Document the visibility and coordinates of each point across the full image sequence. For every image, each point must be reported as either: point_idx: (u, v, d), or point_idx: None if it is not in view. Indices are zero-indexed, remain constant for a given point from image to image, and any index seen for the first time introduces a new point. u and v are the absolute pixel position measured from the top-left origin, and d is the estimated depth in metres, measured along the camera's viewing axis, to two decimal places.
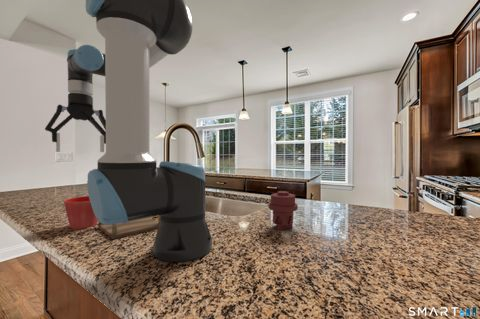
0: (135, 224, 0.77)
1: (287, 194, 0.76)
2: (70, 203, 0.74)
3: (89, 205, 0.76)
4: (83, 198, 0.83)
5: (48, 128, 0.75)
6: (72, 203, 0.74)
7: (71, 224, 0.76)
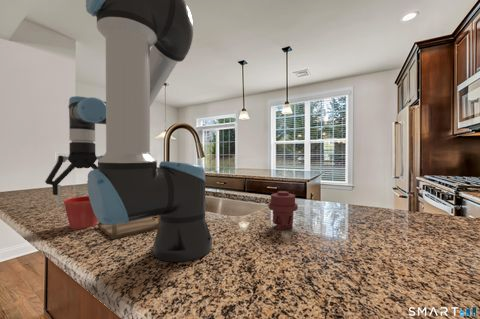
0: (135, 224, 0.77)
1: (287, 194, 0.76)
2: (70, 203, 0.74)
3: (89, 205, 0.76)
4: (83, 198, 0.83)
5: (48, 182, 0.72)
6: (72, 203, 0.74)
7: (71, 224, 0.76)
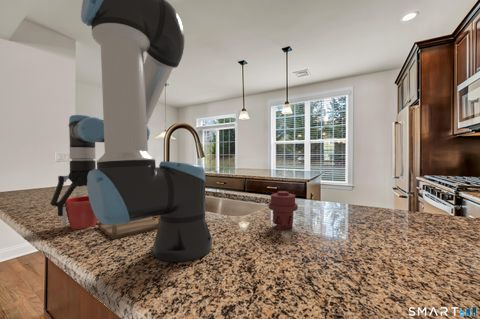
0: (135, 224, 0.77)
1: (287, 194, 0.76)
2: (70, 203, 0.74)
3: (89, 205, 0.76)
4: (83, 198, 0.83)
5: (54, 203, 0.73)
6: (72, 203, 0.74)
7: (71, 224, 0.76)
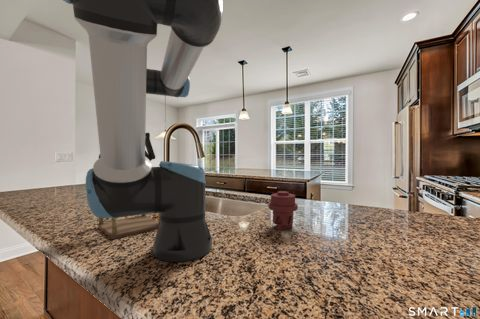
0: (135, 224, 0.77)
1: (287, 194, 0.76)
2: None
3: None
4: None
5: None
6: None
7: None
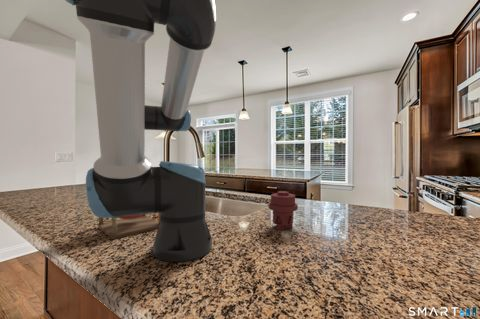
0: (135, 224, 0.77)
1: (287, 194, 0.76)
2: None
3: None
4: None
5: None
6: None
7: None
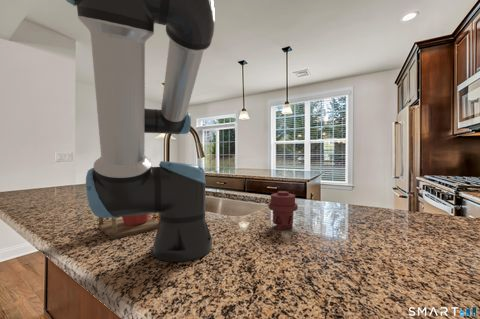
0: None
1: (287, 194, 0.76)
2: None
3: None
4: None
5: None
6: None
7: (126, 221, 0.75)
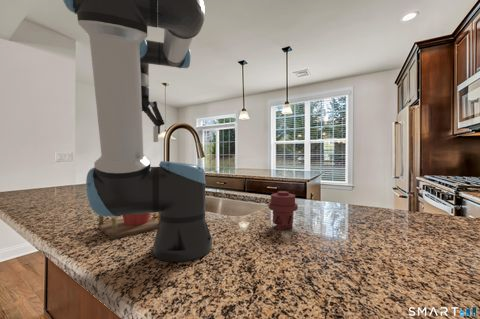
0: None
1: (287, 194, 0.76)
2: None
3: None
4: None
5: None
6: None
7: (126, 221, 0.75)
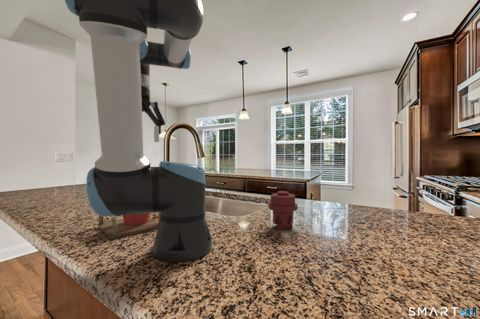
0: None
1: (287, 194, 0.76)
2: None
3: None
4: None
5: None
6: None
7: (126, 221, 0.75)
